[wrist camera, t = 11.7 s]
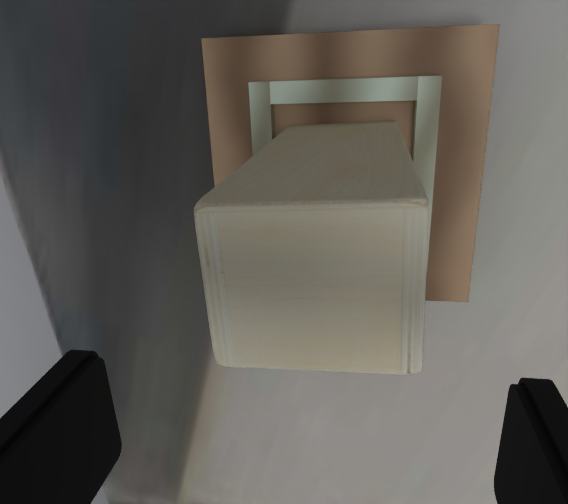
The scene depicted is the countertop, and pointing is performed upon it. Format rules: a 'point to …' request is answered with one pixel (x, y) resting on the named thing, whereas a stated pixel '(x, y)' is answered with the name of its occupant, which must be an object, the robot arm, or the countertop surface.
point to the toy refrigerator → (318, 253)
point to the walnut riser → (370, 113)
